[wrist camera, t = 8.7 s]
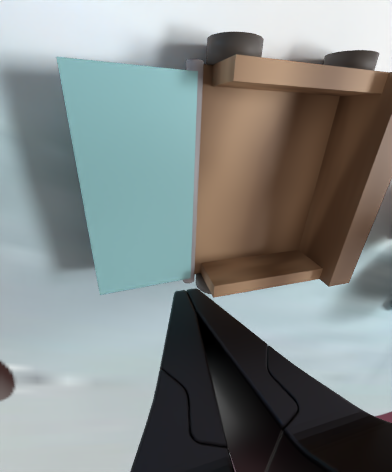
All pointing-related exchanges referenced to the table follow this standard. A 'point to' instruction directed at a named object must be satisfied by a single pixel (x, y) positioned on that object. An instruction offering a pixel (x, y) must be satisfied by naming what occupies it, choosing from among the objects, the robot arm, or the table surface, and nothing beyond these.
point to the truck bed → (288, 165)
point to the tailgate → (136, 167)
